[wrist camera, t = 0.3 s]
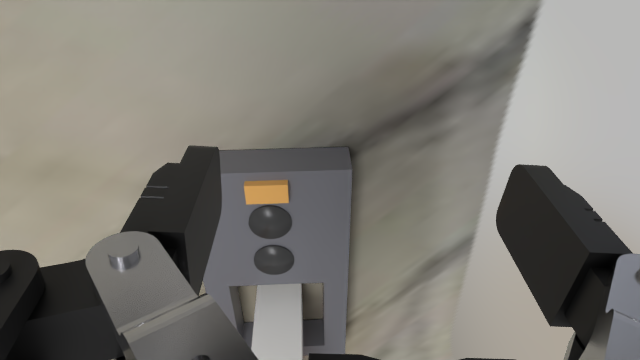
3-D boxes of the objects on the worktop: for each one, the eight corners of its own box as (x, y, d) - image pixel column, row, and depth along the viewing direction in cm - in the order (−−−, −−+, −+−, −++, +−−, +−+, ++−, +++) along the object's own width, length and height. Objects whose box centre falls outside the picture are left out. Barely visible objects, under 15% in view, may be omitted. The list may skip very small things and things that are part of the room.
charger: (258, 277, 41) (247, 393, 32) (301, 276, 41) (302, 391, 32) (261, 305, 43) (252, 420, 35) (302, 304, 44) (303, 418, 35)
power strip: (186, 151, 33) (175, 180, 30) (348, 146, 33) (353, 174, 30) (226, 332, 46) (221, 364, 43) (342, 327, 46) (345, 359, 43)
